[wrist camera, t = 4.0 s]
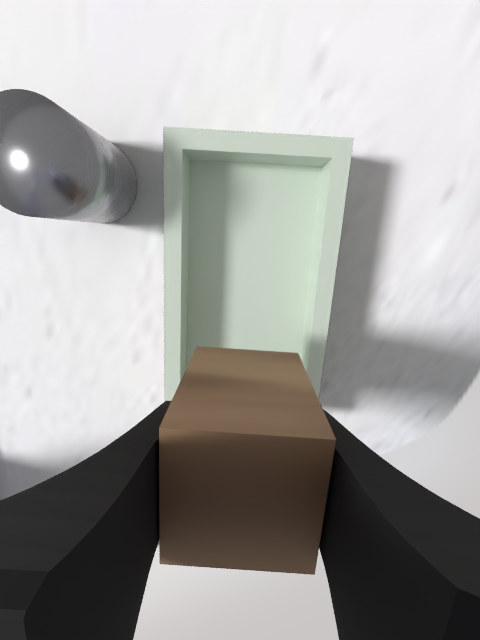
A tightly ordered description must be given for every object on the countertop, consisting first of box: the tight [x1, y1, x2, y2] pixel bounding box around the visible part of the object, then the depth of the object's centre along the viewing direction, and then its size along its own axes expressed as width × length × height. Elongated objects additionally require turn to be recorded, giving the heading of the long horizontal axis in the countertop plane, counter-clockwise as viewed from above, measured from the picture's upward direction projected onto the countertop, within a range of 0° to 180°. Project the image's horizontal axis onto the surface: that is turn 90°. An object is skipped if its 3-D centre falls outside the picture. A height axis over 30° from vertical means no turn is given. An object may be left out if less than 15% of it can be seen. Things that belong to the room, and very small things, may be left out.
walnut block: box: [159, 346, 336, 574], centre depth 10 cm, size 4×4×6 cm
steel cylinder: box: [0, 89, 137, 223], centre depth 14 cm, size 4×4×6 cm
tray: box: [163, 127, 354, 401], centre depth 16 cm, size 14×8×2 cm, turn 177°
